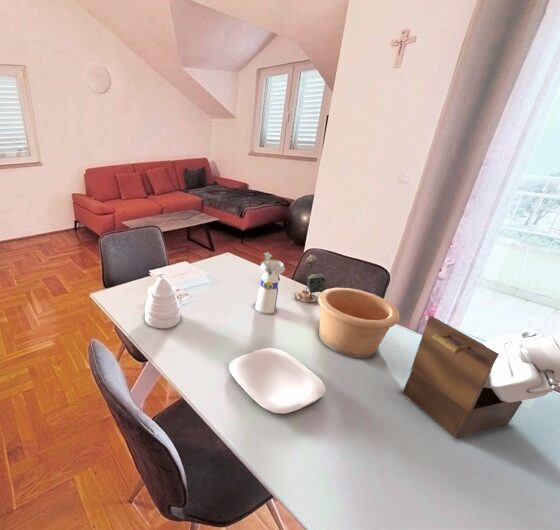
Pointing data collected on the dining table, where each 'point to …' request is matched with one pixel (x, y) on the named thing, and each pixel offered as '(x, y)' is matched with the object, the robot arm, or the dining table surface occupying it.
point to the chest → (460, 408)
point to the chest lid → (453, 363)
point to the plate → (276, 380)
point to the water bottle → (268, 285)
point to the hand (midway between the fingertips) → (466, 374)
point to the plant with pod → (312, 284)
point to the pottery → (354, 320)
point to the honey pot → (162, 304)
